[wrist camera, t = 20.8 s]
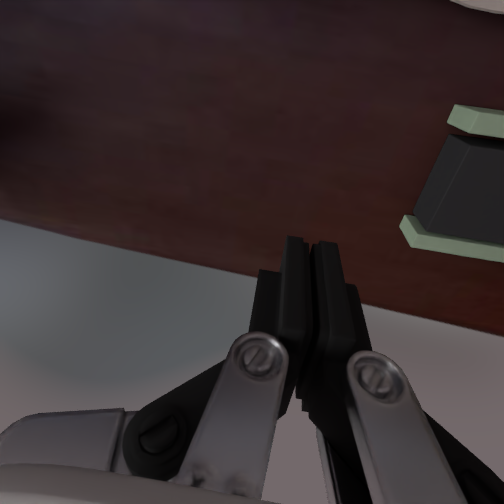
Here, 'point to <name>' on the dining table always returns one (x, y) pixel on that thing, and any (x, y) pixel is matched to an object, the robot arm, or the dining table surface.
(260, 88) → the dining table surface
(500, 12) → the plate
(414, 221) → the bracket
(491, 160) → the dark grey square block
